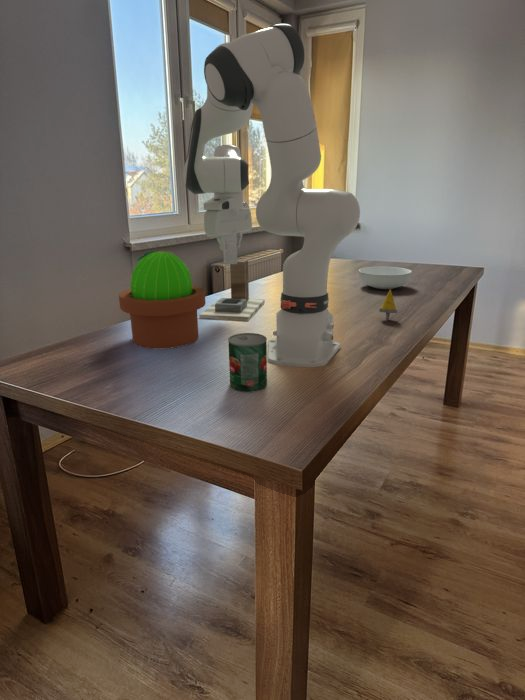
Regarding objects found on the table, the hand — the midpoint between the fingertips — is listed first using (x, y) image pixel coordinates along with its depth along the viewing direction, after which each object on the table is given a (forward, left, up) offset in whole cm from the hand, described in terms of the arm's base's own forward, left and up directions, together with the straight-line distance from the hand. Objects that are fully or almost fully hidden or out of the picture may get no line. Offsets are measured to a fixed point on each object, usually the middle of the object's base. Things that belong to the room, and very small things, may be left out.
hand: (230, 248), depth 152 cm
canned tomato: (-58, -20, -21) cm, 65 cm away
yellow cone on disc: (-1, -50, -21) cm, 54 cm away
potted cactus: (-31, +10, -21) cm, 39 cm away
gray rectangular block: (0, 0, -5) cm, 5 cm away
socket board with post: (+3, 0, -21) cm, 21 cm away
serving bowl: (+51, -50, -21) cm, 74 cm away
